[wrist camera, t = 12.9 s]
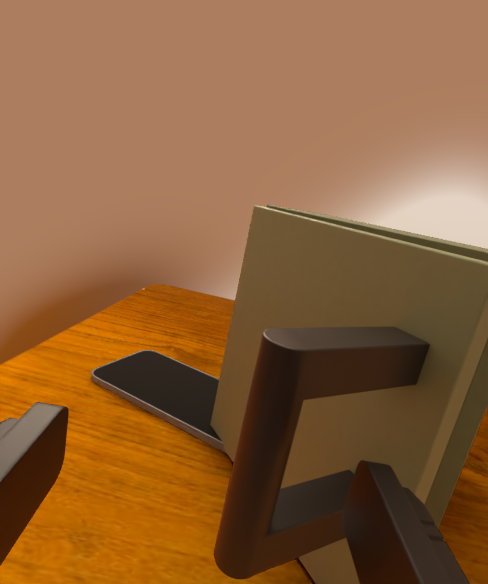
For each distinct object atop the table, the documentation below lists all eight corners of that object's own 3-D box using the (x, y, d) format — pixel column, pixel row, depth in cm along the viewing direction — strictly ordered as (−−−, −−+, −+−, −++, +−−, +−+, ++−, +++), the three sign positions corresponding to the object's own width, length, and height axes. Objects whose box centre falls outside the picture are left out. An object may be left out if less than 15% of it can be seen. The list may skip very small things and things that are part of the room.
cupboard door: (217, 736, 12) (347, 244, 8) (117, 442, 24) (151, 185, 20) (374, 636, 16) (515, 268, 12) (221, 426, 28) (267, 207, 24)
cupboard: (431, 545, 21) (544, 264, 17) (221, 424, 28) (266, 204, 24) (446, 458, 30) (523, 256, 26) (281, 382, 37) (322, 214, 33)
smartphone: (148, 347, 37) (291, 410, 31) (147, 356, 37) (288, 420, 31) (85, 372, 31) (250, 457, 24) (84, 382, 31) (247, 470, 25)
